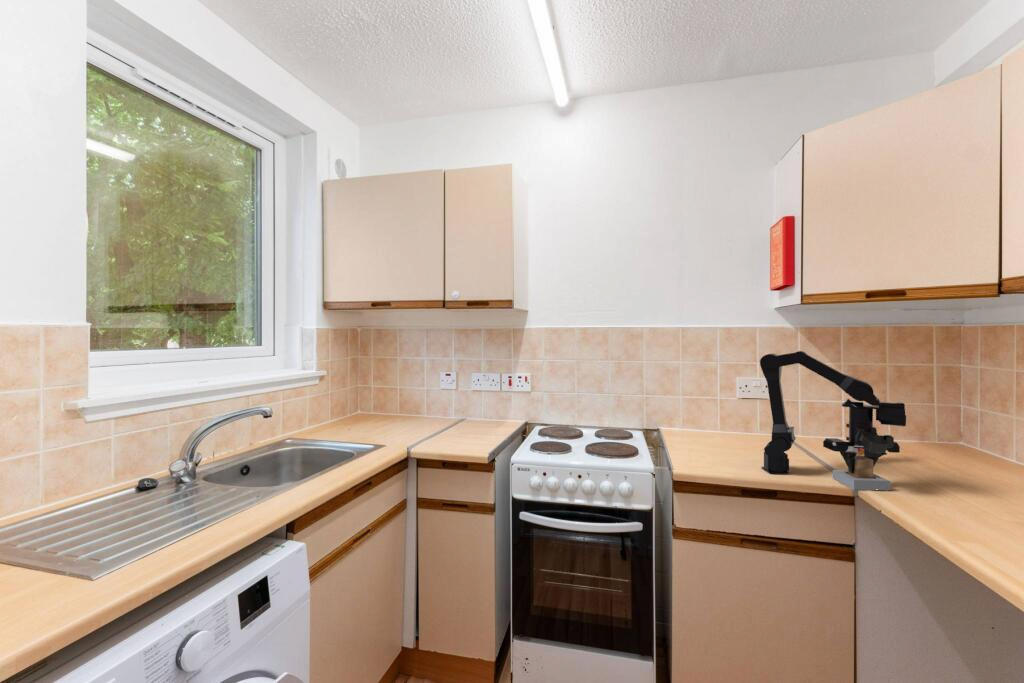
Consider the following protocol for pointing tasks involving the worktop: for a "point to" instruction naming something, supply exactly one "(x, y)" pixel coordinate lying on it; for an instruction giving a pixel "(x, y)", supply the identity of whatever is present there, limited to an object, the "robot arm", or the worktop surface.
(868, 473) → the peg
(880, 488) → the socket block
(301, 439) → the worktop surface
